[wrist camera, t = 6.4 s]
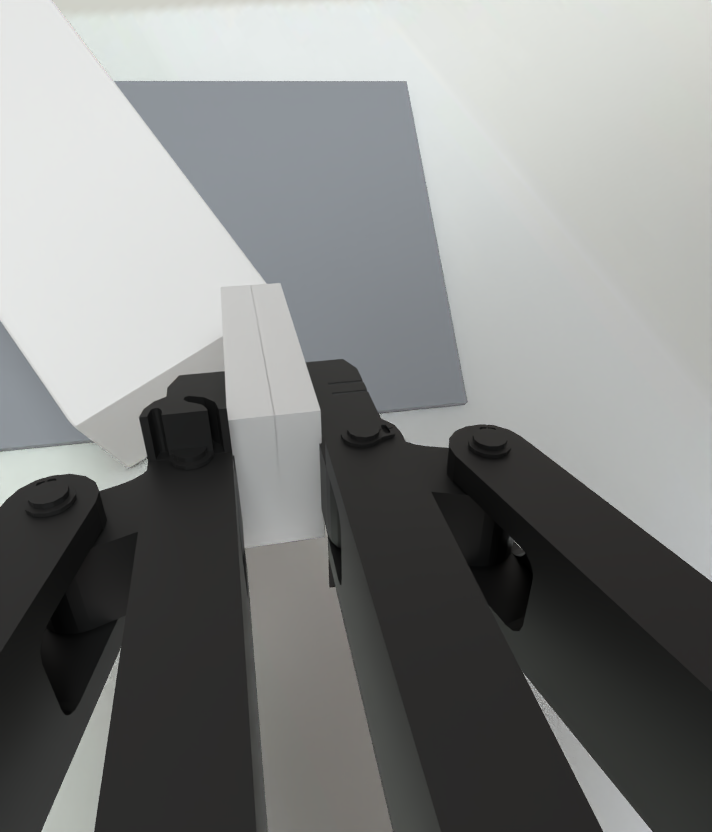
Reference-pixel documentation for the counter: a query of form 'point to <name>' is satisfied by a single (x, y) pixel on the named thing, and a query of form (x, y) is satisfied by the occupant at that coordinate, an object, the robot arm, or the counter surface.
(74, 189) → the milk carton
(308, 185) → the mat
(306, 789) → the counter surface
